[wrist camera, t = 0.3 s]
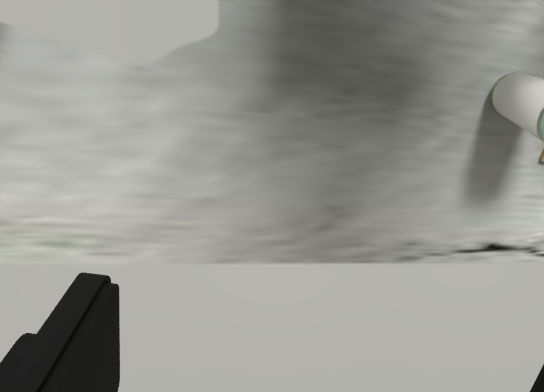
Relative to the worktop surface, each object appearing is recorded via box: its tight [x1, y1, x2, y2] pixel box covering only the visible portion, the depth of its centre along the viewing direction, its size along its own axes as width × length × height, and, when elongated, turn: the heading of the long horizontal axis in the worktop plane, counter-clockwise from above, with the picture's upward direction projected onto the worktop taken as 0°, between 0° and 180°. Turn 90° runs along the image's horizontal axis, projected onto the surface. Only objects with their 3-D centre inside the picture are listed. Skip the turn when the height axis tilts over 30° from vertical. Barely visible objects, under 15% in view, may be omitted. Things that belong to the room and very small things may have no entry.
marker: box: [492, 72, 544, 142], centre depth 38 cm, size 4×4×10 cm
